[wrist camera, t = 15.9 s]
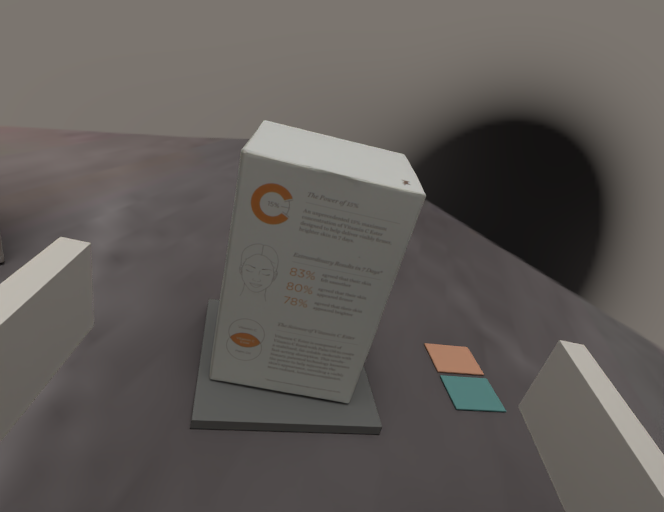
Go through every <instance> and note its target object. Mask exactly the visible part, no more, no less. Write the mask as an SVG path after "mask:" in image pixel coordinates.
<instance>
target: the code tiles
mask: <svg viewBox="0 0 664 512" xmlns="http://www.w3.org/2000/svg"><path fill="white" fill-rule="evenodd" d="M424 345H425V347H426V349H427V351H428V353H429V355H430V357H431V359H432V361H433V363H434V366H435V368H436V370H437V372H443V373H457V374H471V375H484V374H483V372H482V370H481V369H480V367H479V365H478V364H477V362H476V361H475V359H474V357H473V356H472V354H471V352H470V351H469V349H468V347H459V346H449V345H438V344H427V343H424ZM440 378H441V380H442V382H443V384H444V386H445V388H446V390H447V392H448V394H449V396H450V398H451V400H452V402H453V404H454V406H455V408H456V410H473V411H493V412H506V410H505V408H504V407H503V405H502V403H501V402H500V400H499V398H498V397H497V395H496V393H495V392H494V390H493V388H492V387H491V385H490V384H489V382H488V380H487V379H485V378H471V377H457V376H443V375H440Z"/></svg>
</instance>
